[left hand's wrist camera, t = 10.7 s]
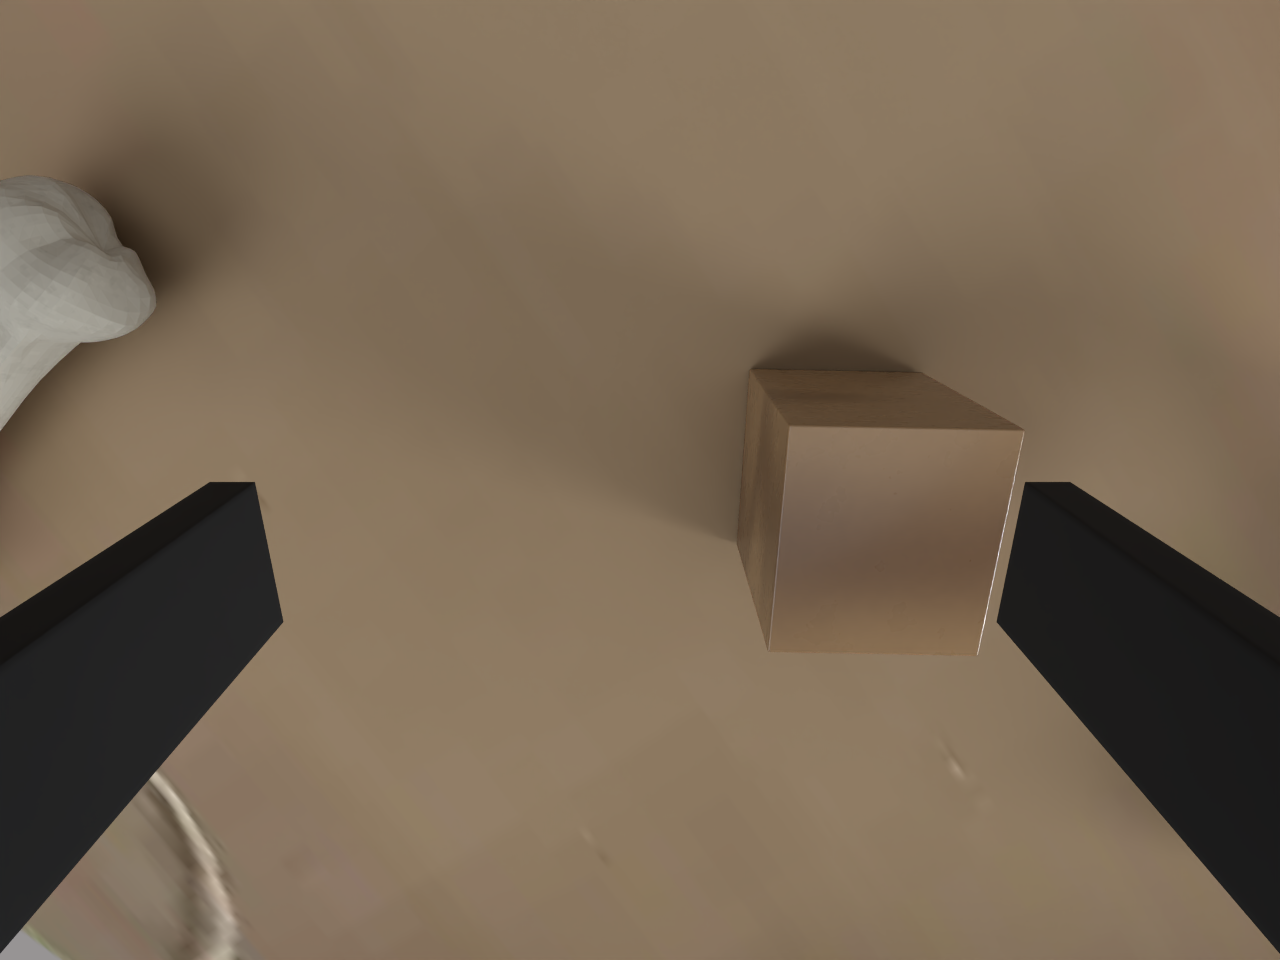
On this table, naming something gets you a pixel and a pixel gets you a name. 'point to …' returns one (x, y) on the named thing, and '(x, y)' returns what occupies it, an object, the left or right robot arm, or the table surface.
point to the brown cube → (872, 511)
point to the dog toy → (59, 281)
